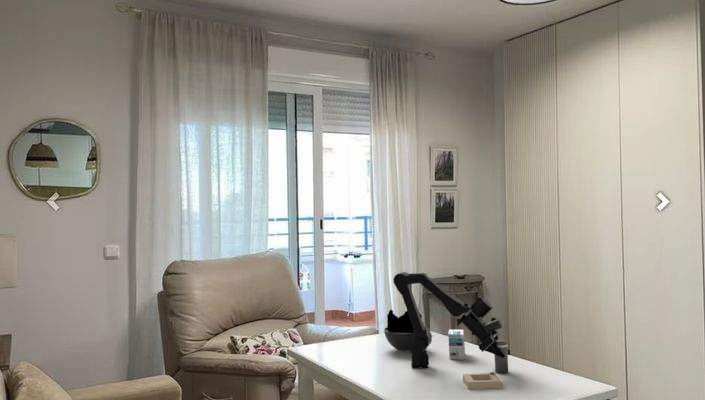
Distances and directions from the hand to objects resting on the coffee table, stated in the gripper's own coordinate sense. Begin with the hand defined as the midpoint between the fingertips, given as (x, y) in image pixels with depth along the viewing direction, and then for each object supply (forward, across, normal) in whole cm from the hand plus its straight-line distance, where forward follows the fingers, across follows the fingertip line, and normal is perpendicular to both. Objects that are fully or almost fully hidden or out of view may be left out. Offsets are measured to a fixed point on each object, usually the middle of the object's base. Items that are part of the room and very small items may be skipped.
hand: (504, 355), depth 217 cm
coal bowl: (-28, +24, +37) cm, 52 cm away
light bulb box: (-11, +19, +20) cm, 30 cm away
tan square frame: (0, -17, +10) cm, 20 cm away
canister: (+4, 0, +6) cm, 7 cm away
